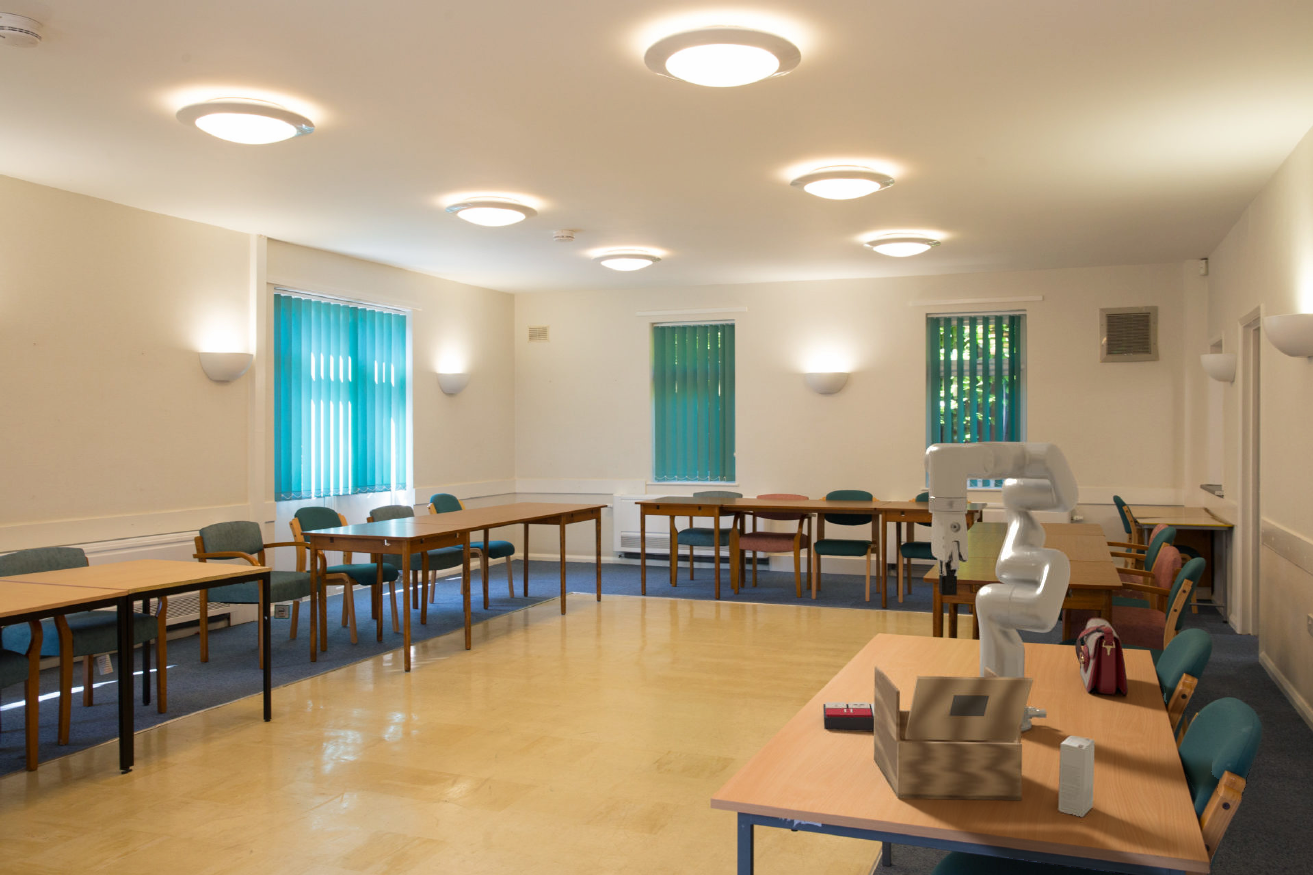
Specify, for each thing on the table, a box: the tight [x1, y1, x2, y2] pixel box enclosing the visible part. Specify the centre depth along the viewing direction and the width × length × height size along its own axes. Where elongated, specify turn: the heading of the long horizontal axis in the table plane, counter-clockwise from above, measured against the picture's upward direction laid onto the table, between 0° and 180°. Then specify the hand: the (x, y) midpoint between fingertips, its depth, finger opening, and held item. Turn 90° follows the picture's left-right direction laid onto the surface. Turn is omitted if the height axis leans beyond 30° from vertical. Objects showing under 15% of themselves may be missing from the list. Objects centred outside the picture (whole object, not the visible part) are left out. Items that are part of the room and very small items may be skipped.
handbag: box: [1074, 617, 1129, 697], centre depth 243 cm, size 28×11×17 cm, turn 160°
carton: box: [873, 665, 1023, 801], centre depth 175 cm, size 22×20×19 cm
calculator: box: [822, 701, 874, 733], centre depth 209 cm, size 11×4×15 cm
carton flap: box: [905, 675, 1034, 741], centre depth 162 cm, size 20×15×1 cm
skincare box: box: [1057, 735, 1095, 818], centre depth 161 cm, size 6×4×12 cm
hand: (948, 594), depth 190 cm, fingers closed
